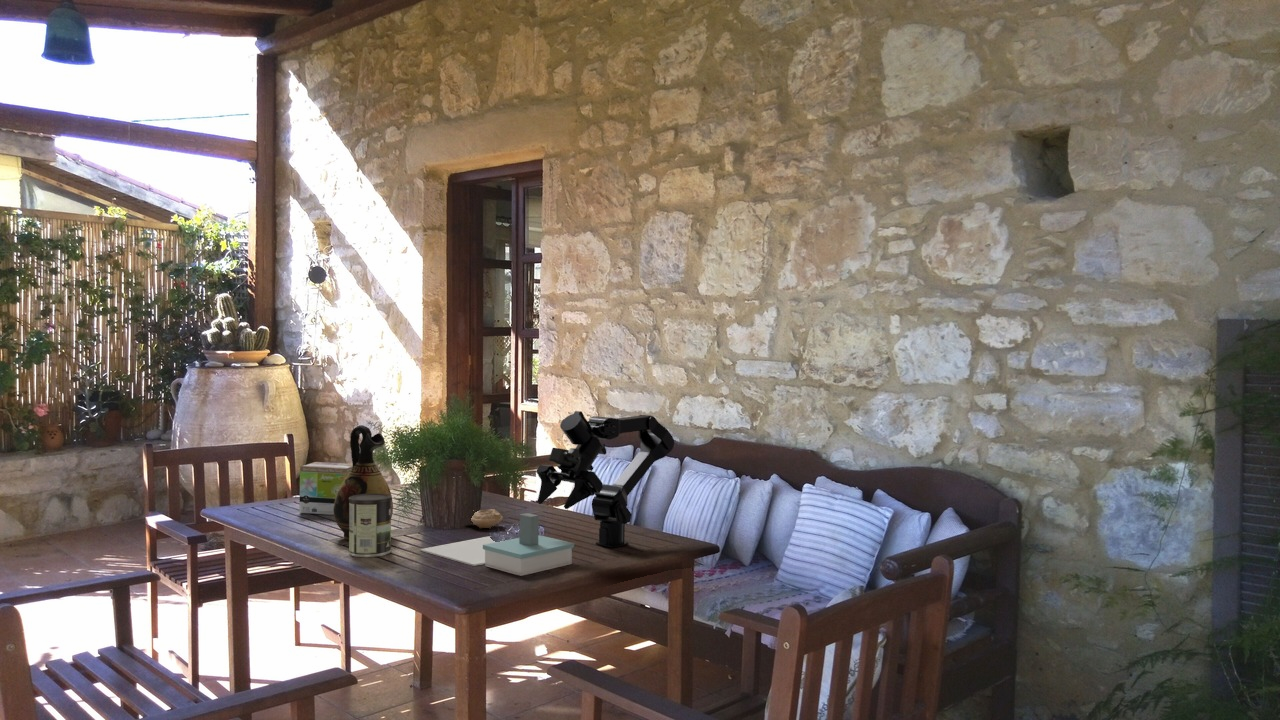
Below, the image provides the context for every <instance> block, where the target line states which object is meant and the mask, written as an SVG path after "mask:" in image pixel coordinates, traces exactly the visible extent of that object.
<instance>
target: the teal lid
mask: <svg viewBox="0 0 1280 720" xmlns="http://www.w3.org/2000/svg"><path fill="white" fill-rule="evenodd" d="M539 516H540V515H538V514H534V513H529V512H527V513H520V514H519V536H518V537H516V538H511V539H506V540H505V539H504V540H505V541H500V542H495V543H490V544H485V545H483V549H484V550H488V551H492V552H496V553H500V554H503V555H507V556H511V557H515V558H519V559H523V558H528V557H532V556H537V555H542V554H546V553H551V552H555V551H560V550H564V549H569V548H575V543H574V542H570V541H565V540H562V539H558V538H553V537H549V536H543V535H540V534H539V528H540V527H539V526H540V525H539V523H540V522H539V521H540V520H539V519H540V518H539Z"/></svg>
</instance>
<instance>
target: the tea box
mask: <svg viewBox="0 0 1280 720" xmlns="http://www.w3.org/2000/svg"><path fill="white" fill-rule="evenodd" d="M352 467H353V463H344V462H343V463H342V462H321V461H314V462H311V463H308V464H304V465H300V466H299V499H298V500H299V506H298V507H299V510H298V511H299V514H313V515H314V514H315V515H327V516H328V515H329V516H334V512H333V508H334V502H335V498H336V495H337V493H338V490H339V488H340V486H341V484H342V483H343V481H344V480H345V478H346V476H347V475H348V473H350V471H351V470H352Z"/></svg>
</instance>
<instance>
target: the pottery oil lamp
mask: <svg viewBox="0 0 1280 720" xmlns="http://www.w3.org/2000/svg"><path fill="white" fill-rule="evenodd" d="M503 519H504V516H503V515H502V514H501V513H500V512H499V511H498V510H496V509H495V508H492V509H481V510H479V511H477V512H475V513H474V515H473V516H472V518H471V521H472V522H473V525H475V526H477V528H478V527H479V528H478V529H482V528H489V529H492V528H493V527H494V526H496V525H497V524H499V523H500V522H501V521H502V520H503ZM492 526H493V527H492ZM491 527H492V528H491Z"/></svg>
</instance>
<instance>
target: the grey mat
mask: <svg viewBox="0 0 1280 720" xmlns="http://www.w3.org/2000/svg"><path fill="white" fill-rule="evenodd" d="M490 537H491V536H489V535H487V536H483V537H478V538H473V539H467V540H462V541H457V542H451V543H447V544H441V545H436V546H429V547H425V548H420V549H419V551H420V552H423V553H427V554H431V555H433V556H436V557H441V558H445V559H448V560H450V561H451V560H452V561H455V562H458V563H461V564H465V565H469V566H472V567H477V566H481V565H485V550H484V549H483V545H485V544H490V543H495V541H493V540H492V539H491V538H490Z"/></svg>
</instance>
